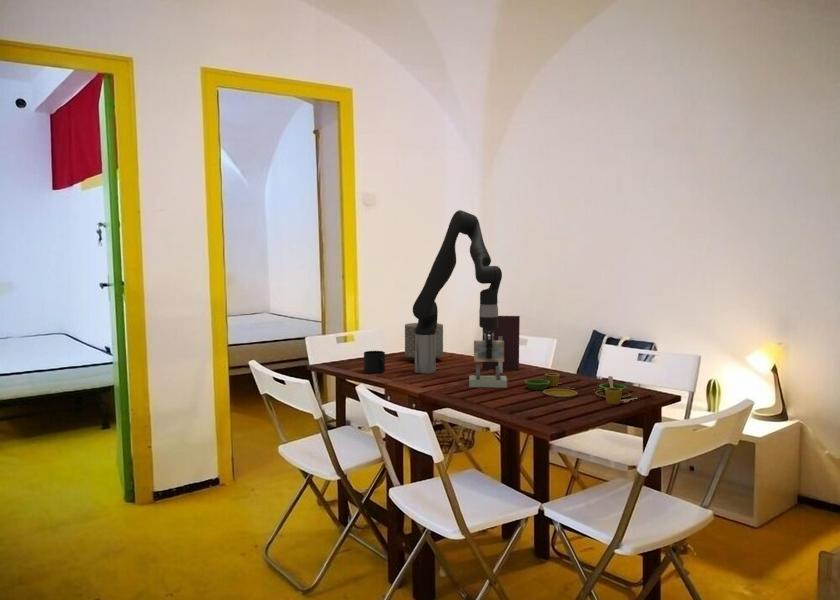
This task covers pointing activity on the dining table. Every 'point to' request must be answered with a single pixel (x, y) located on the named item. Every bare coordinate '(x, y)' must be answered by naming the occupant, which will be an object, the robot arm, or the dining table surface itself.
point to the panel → (481, 351)
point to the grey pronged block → (488, 380)
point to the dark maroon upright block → (506, 343)
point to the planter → (411, 340)
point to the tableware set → (551, 379)
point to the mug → (374, 362)
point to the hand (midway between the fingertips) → (488, 357)
